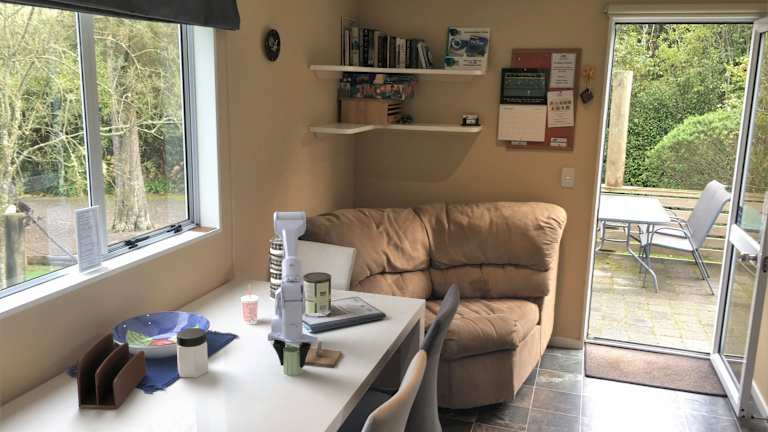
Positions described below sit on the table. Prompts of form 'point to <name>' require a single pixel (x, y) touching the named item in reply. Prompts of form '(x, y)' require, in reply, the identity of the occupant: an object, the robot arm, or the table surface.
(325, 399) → the table surface
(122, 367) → the letter holder
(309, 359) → the spool holder
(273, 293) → the decorative candle
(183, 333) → the jar
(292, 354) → the green segmented tube
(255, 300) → the beverage cup
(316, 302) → the coffee can
